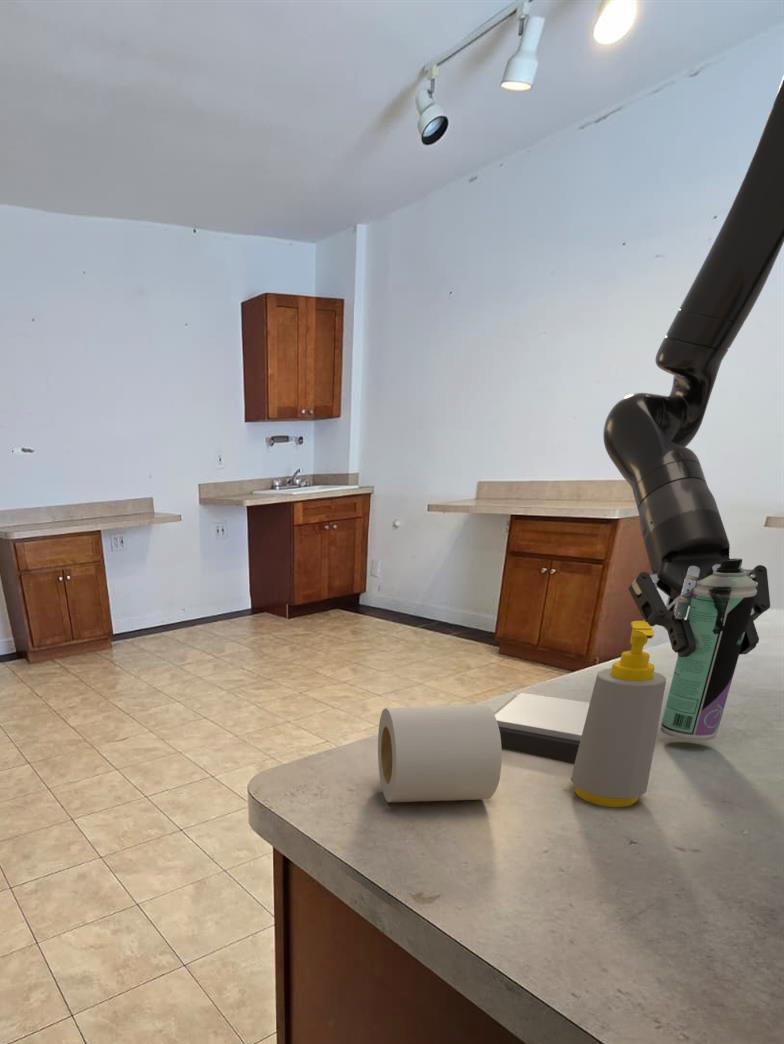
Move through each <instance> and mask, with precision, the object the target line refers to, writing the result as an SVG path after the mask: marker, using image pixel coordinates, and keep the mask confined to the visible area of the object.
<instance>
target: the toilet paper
mask: <svg viewBox="0 0 784 1044" xmlns="http://www.w3.org/2000/svg"><path fill="white" fill-rule="evenodd" d="M494 713H495V712H494V711H493V709H492V708H491V706H490V705H488V704H486V703H478V704H477V703H476V704H475V703H474V704H453V705H430V706H428V705H427V706H409V707H407V706H406V707H385V708H383V710H382V711H381V714H380V718H379V723H378V733H377V735H378V736H377V760H378V762H377V763H378V773H379V781H380V787H381V791H382V794H383V797H384V799H385V801H386V802H387V803H412V802H442V801H443V802H445V801H446V802H447V801H471V800H472V801H473V800H474V801H475V800H476V801H478V800H489V799H491V798H492V797H494V795H495V793H496V792H497V789H498V786H499V783H500V779H501V773H502V765H503V764H502V763H503V749H502V747H501V737H500V731H499V726H498V723H497V720H496V717H495V715H494Z"/></svg>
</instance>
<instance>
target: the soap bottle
mask: <svg viewBox="0 0 784 1044" xmlns="http://www.w3.org/2000/svg"><path fill="white" fill-rule="evenodd" d="M630 626H631V628H632V629H631V634H630V639H629V643H630V645H631V647H630V650H625V651H622V653H621V656H620V660H616V661H614V662H613V663H612V665H611V668H610V667H609V668H604V669H602V670H600V671H599V670H598V671H597V673H596V677H595V681H594V686H593V688H592V693H591V697H590V701H589V703H590V705H589V709H588V712H587V716H586V720H585V724H584V728H583V732H582V736H581V740H580V744H579V748H578V752H577V756H576V760H575V763H573V768H572V772H571V776H570V781H571V782H572V784H573V786H574V792H575V793H576V794H577V796H578V797H580V798H581V799H583V800H585V801H586V802H588V803H592V804H595V805H598V806H603V807H607V808H608V807H609V808H623V807H628V806H632V805H634V804H635V803H637V802H638V799H639V797H641V796H643V795H644V794H646V793H647V790H648V785H649V779H650V774H651V769H652V764H653V763H652V762H653V758H654V751H655V746H656V740H657V736H658V735H657V734H658V729H659V724H660V718H661V713H662V707H663V701H664V695H665V690H666V685H667V684H666V683H667V677H665V676H664V675H663V674H661V673H659V672H657V671H656V672H655V665H654V664H652V663H650V662H649V661H650V657H651V655H650V654H649V653H648V652H647V651H646V652H645V651H643V648H644V646H645V645H647V643H648V641H649V640H650V639H651V640H652V639H653V637H654V636H655V630H654V629H653V627H652V626H650V625H649V624H648V623H647V622H645V621H644V620H634V621H631V622H630Z"/></svg>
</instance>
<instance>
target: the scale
mask: <svg viewBox="0 0 784 1044" xmlns="http://www.w3.org/2000/svg"><path fill="white" fill-rule="evenodd" d="M589 705H590V702H587V701H580V700H579V701H578V700H573V699H567V698H559V697H553V696H545V695H538V694H532V693H526V692H520V693H519V694H518V695H516V694H515V695H514V696H512V697H511V698H510V699H509V700H508V701H507V702H505V703H504V704H503V705H502V706H500V707H499V708H498V709H497V710H495V712H493V713H494V715H495V717H496V720H497V723H498V726H499V731H500V737H501V747H502V750H506V751H507V750H508V751H512V752H517V753H522V754H526V755H530V756H531V755H532V756H537V757H541V758H547V759H552V760H556V761H562V762H567V763H571V764H575V760H576V756H577V752H578V748H579V744H580V740H581V736H582V732H583V728H584V724H585V720H586V716H587V712H588V709H589Z"/></svg>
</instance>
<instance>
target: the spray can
mask: <svg viewBox="0 0 784 1044" xmlns="http://www.w3.org/2000/svg"><path fill="white" fill-rule="evenodd" d="M742 565H743V558H730V559H728V560H725V561H722V563H721V566H720V567H719V568H717V570H715V571H713V575H710V576H708V577H706V578H704V579H703V580H699V581H697V584H696V585H697V587H695V588H694V591H693V595H692V600H691V604H690V606H689V607H688V611H687V615H686V620H689V623H690V626H691V629H692V632H693V636H694V639H695V643H696V649H695V651H694V652H693V653H691V654H690V655H689V656H688V657H679V656H678V655H677V657H676V661H675V662H676V663H675V666H674V670H673V675H672V679H671V683H670V687H669V691H668V695H667V700H666V704H665V708H664V712H663V716H662V721H661V725H660V731H661V732H662V734H664V735H666V736H669V737H671V738H673V739H679V740H683V741H691V742H706V741H711V740H713V739H715V738H716V737H717V735H718V731H719V727H720V724H721V721H722V717H723V714H724V710H725V708H726V707H725V706H726V703H727V700H728V696H729V692H730V689H731V686H732V681H733V678H734V675H735V671H736V667H737V664H738V660H739V656H740V655H739V653H740V650H741V646H742V643H743V639H744V636H745V632H746V629H747V625H748V622H749V618H750V614H751V611H752V607H753V604H754V600H755V597H756V593H757V590H756V588H755V587H757V585H758V583H757V582H755V581H753V580H752V579H750V578H749V577H747V576H746V575H745V574H746V571H743V569H744V568H743V567H742Z"/></svg>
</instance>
